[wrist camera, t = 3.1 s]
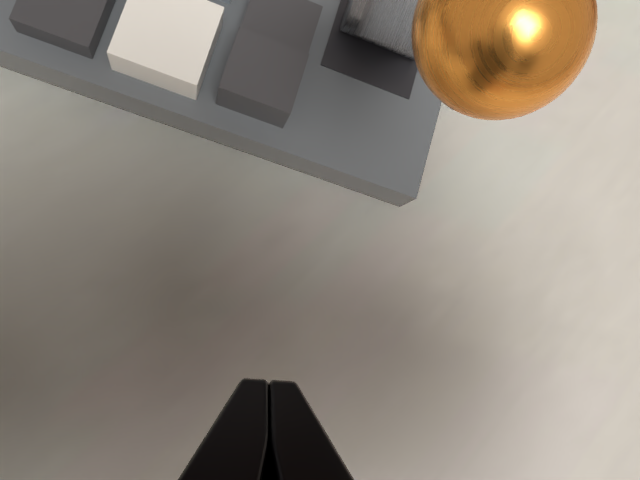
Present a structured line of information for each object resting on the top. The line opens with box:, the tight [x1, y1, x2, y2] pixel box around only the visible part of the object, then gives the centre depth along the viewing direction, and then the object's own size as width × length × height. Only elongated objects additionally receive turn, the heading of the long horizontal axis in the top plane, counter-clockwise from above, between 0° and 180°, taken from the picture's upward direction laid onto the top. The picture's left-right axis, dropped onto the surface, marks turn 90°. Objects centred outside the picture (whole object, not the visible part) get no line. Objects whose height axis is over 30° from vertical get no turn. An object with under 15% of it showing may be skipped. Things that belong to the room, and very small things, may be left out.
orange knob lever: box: [340, 0, 598, 120], centre depth 13 cm, size 3×3×12 cm
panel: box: [0, 0, 442, 206], centre depth 18 cm, size 7×18×3 cm, turn 74°
